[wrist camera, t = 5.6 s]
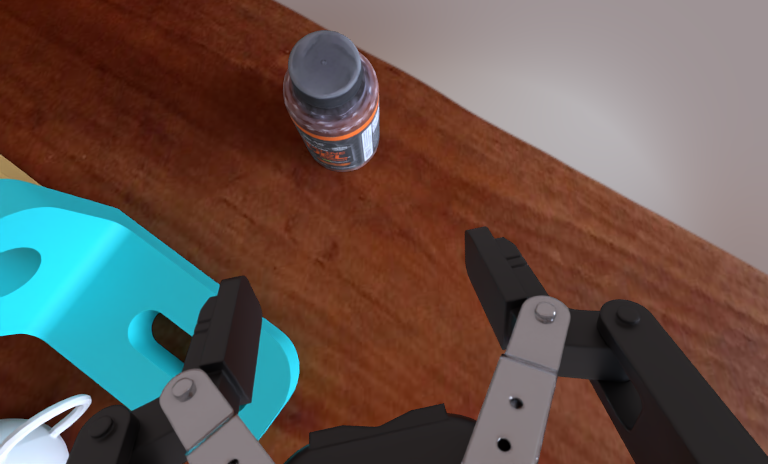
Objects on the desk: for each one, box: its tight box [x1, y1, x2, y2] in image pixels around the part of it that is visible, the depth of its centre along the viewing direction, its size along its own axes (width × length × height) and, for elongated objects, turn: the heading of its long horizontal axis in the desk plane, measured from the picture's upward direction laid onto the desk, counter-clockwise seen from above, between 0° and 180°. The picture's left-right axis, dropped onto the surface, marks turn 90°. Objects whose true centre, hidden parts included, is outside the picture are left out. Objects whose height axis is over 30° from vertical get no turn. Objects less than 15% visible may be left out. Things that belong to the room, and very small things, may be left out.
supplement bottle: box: [283, 30, 379, 172], centre depth 27 cm, size 6×6×11 cm
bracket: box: [0, 179, 299, 441], centre depth 24 cm, size 20×9×12 cm, turn 55°
